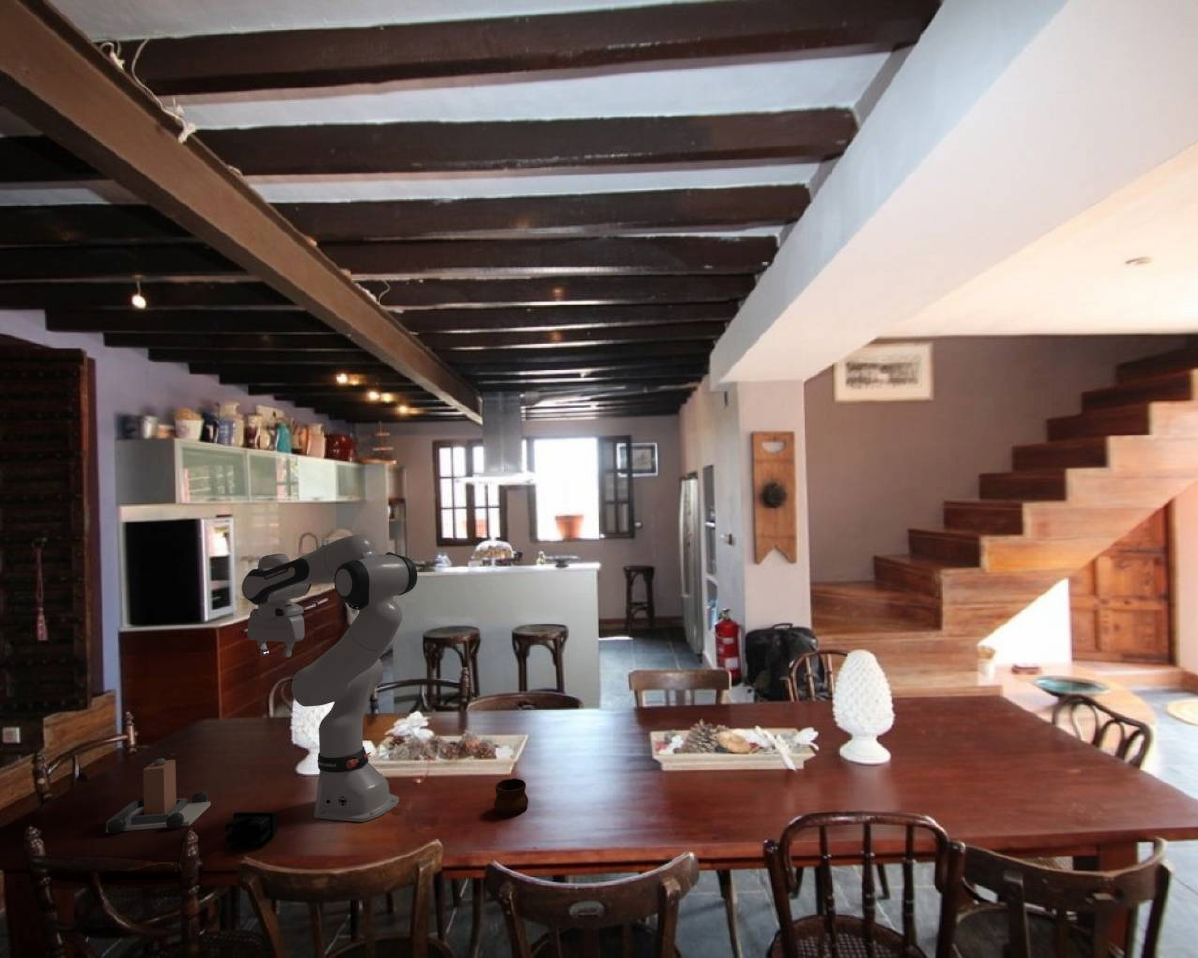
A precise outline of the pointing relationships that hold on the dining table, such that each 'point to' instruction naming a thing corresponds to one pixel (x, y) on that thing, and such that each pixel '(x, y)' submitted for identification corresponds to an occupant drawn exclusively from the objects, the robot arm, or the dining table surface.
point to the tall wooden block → (159, 786)
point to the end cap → (251, 830)
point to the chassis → (158, 815)
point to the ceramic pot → (510, 797)
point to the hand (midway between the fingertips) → (276, 655)
